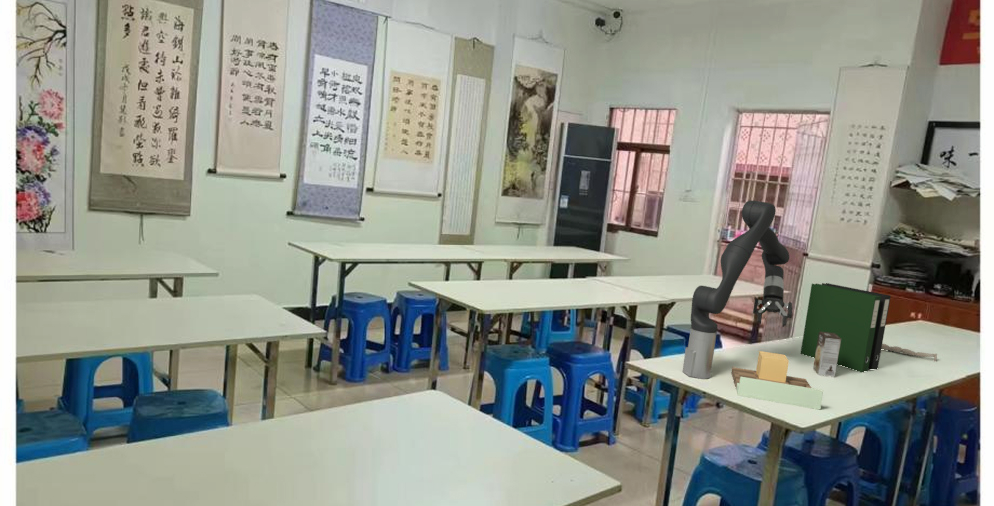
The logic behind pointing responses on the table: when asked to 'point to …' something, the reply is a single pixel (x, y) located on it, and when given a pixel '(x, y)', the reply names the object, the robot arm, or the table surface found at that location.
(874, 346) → the binder
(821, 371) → the coffee box
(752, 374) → the board
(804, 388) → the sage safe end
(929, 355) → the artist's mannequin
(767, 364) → the ochre block
